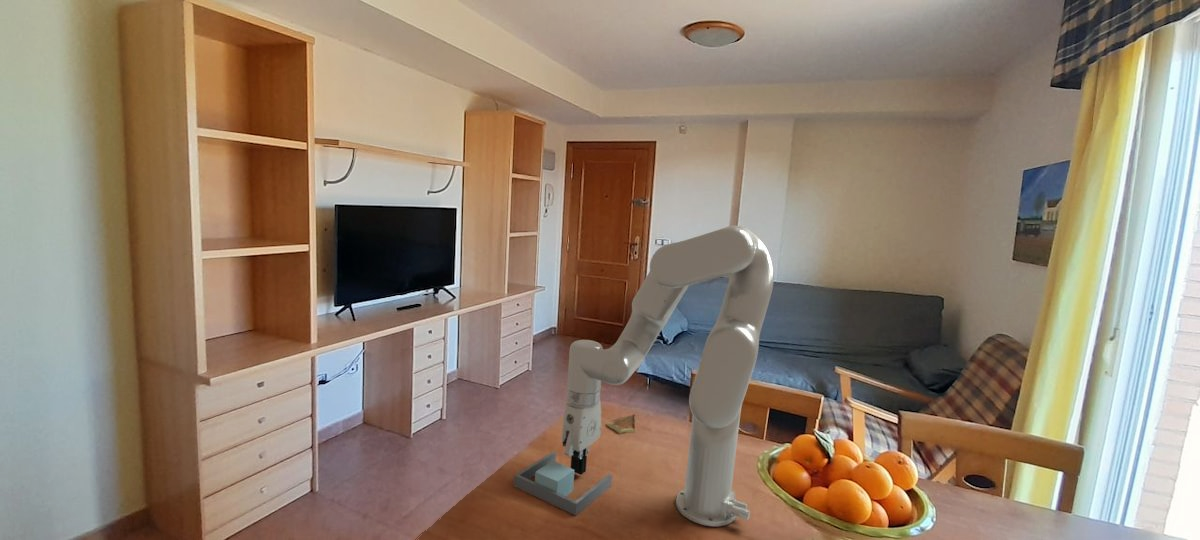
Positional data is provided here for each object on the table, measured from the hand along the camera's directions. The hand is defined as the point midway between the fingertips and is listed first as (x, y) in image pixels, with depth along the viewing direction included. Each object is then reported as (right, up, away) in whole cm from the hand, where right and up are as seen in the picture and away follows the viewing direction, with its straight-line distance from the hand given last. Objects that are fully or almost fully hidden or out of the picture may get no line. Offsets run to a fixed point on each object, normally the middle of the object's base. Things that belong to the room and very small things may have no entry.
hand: (578, 471), depth 116 cm
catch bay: (-3, -1, -4) cm, 5 cm away
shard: (+11, +1, +28) cm, 30 cm away
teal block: (-5, -2, -7) cm, 9 cm away
